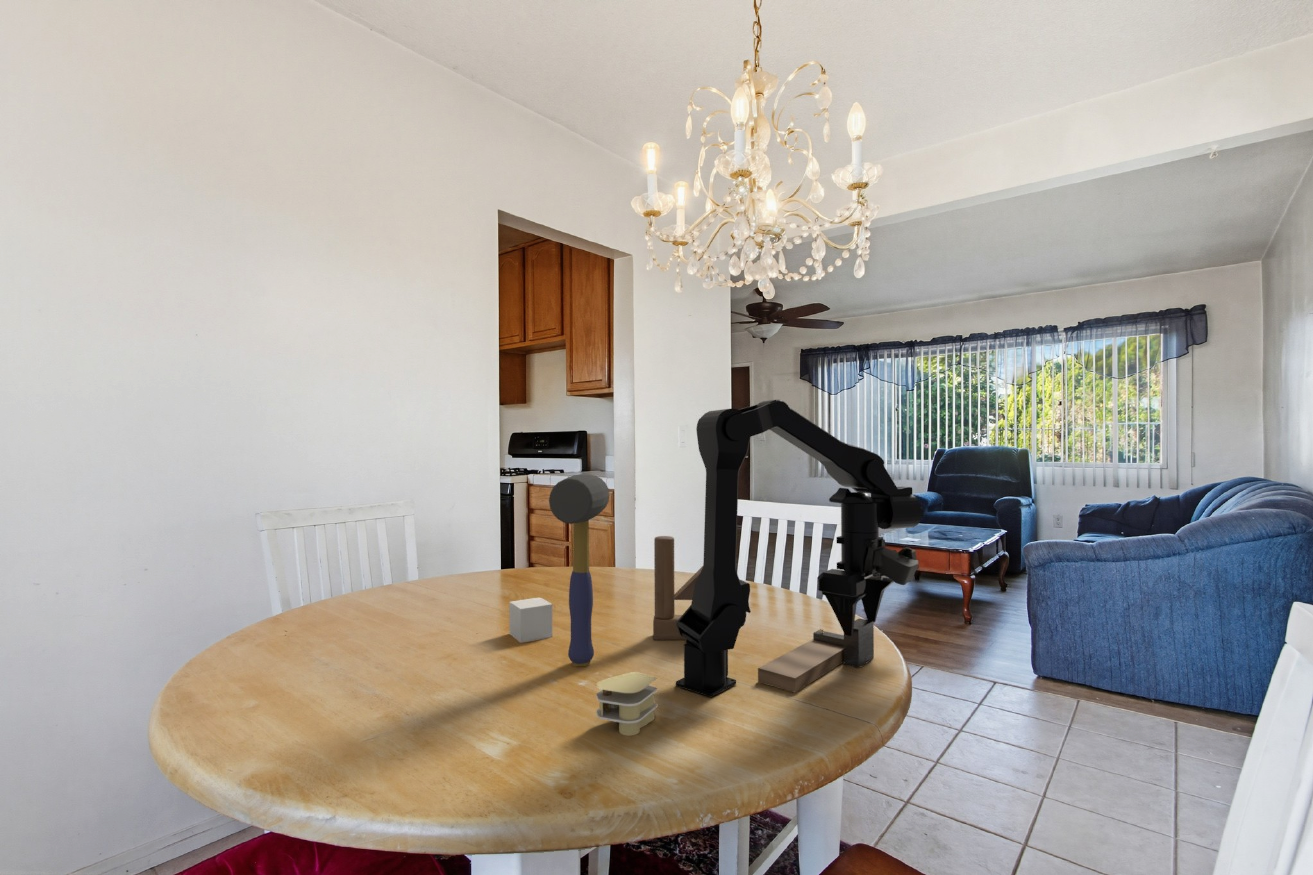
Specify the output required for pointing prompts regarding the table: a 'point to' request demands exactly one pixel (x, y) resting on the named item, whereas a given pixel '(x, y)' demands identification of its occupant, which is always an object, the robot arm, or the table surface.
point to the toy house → (627, 701)
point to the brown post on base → (668, 590)
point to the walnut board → (801, 665)
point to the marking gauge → (852, 642)
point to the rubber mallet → (580, 553)
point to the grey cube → (530, 619)
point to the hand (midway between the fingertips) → (860, 628)
